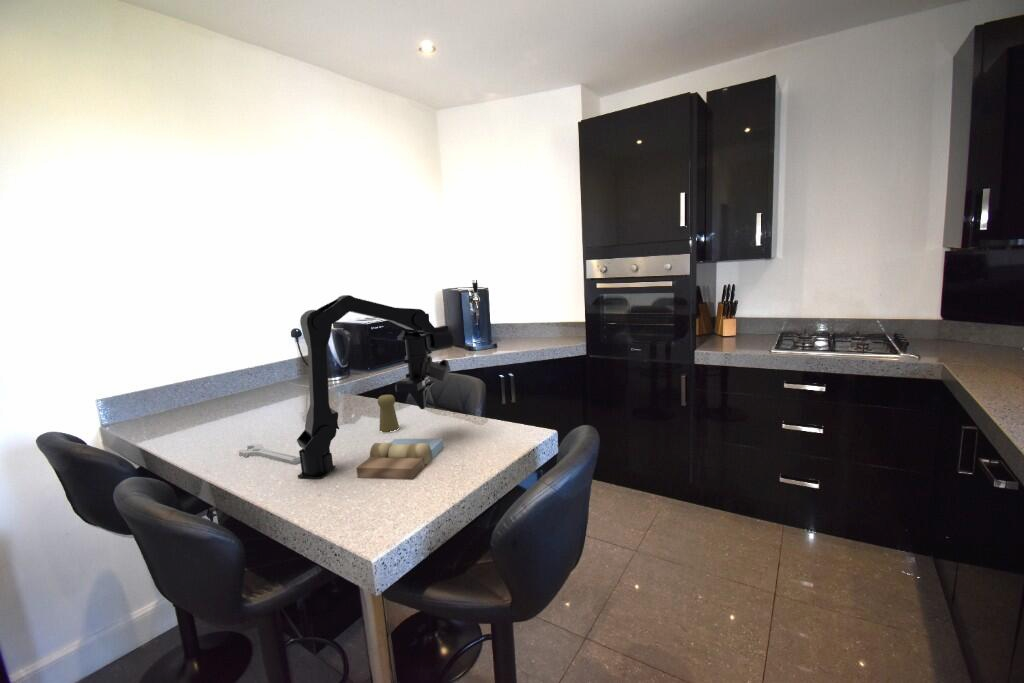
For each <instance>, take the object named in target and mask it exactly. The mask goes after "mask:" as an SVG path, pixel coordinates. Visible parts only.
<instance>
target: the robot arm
mask: <svg viewBox="0 0 1024 683" xmlns="http://www.w3.org/2000/svg"><path fill="white" fill-rule="evenodd" d="M349 313H354V314H359V315H363V316H367V317H372V318H375V319H379V320H380V319H381V320H385V321H388V322H390V323H393V324H395V325H396V326H399V327H401V328H404V329H406V330H401V333H399V335H398V336H397V337H396V339H397V340H398V341H399V340H400V341H405V342H404V343H405V352H406V358H404V361H403V362H404V364H406V365H407V371H408V373H406V374H405V377H404V378H401V379H400V380H398V381H397V382H396V383H395V384H394V388H395V392H396V393H409V394H410V395H411V397H412V398H413V400H414V401H415V403H416V405H417V406H418V408H419V409H420V410H424V409H426V406H427V405H426V404H427V399H428V394H429V390H430V388H431V386H433V385H434V383H435V381H431V379H429V378H433V379H436V380H437V381H439V382H440V381H441V382H442V381H445V380H447V379H448V377H449V373H450V372H451V370H452V369H451V366H450V363H449V360H446V359H441V360H440V362H439V361H436V362H435V361H433V360H432V359H433V357H432V356H431V355H429V354H428V353H429V352H428V349H429V351H431V352H437V351H438V352H439V351H443V350H450V349H452V348H453V346H454V337H453V334H452V332H451V331H450V330H449V325H439V326H434V325H433V323H432V322H430V320H429V319H428V315H427V314H426V311H424V310H423V309H421V308H408V307H407V308H405V307H394V306H390V305H386V304H381V303H379V302H373V301H371V300H366V299H362V298H360V297H359V298H358V297H355V296H353V295H351V294H350V295H349V294H344V295H339V296H338V297H337V298H336V299H334V300H332V301H330V302H328V303H326V304H325V305H324V304H323V305H322V306H321V307H319V308H318V309H310V310H307V311H305V312H304V313H303V314H302V315H301V317H300V319H299V322H300V323H299V324H300V328H301V332H302V336H303V339H304V342H305V344H306V347H307V359H308V360H307V362H308V364H307V365H308V385H309V408H308V410H307V414H306V419H305V423H304V424H305V425H304V430H303V431H302V432H301V434H299V436H298V437H297V439H296V443H297V444H298V446H299V447H300V448H301V449H300V450H299V451H298V454H299V457H300V462H301V463H300V468H301V473H299V474H298V475H297V478H298V479H322V478H324V477H325V476H327V475H328V474H330V473H331V472H333V471H334V470H335V469H337V465H334V463H333V454H332V452H331V449H330V447H331V443H332V440H333V439H334V438H335V437H336V436H337V431H338V430H339V429H340V426H339V424H338V421H339V420H338V419H339V412H338V411H336V410H335V409H333V408H332V407H331V406H330V396H329V395H330V393H329V371H328V370H329V369H328V368H329V367H328V345H329V342H330V339H331V335H332V328H333V325H334V324H335V323H337V322H339V321H340V320H341V319H342V318H343V317H345V316H346V315H347V314H349ZM407 330H412V331H411V332H410V331H409V332H408V331H407ZM414 330H415V331H414ZM420 332H422V333H423V334H422V333H420Z"/></svg>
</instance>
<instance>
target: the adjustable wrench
mask: <svg viewBox="0 0 1024 683" xmlns="http://www.w3.org/2000/svg"><path fill="white" fill-rule="evenodd" d="M246 448H247V449H239V450H238V453H239V456H240V457H241V456H243V457H245V458H248V456H251V457H260V456H261V457H260V458H264V457H265V458H264V459H268V458H270V459H269V460H272V459H273V461H276V460H277V462H281V463H286V464H288V465H289V464H290V465H296V466H297V465H299V464H300V465H301V462H300V456H298V455H293V454H289V453H282V452H279V451H274V450H270V449H266V448H264V446H263V444H260V443H257V444H256V443H254V444H249V445H247V446H246ZM248 449H250V450H248ZM243 457H242V458H243Z"/></svg>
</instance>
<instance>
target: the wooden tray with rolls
mask: <svg viewBox="0 0 1024 683" xmlns="http://www.w3.org/2000/svg"><path fill="white" fill-rule="evenodd" d="M391 445H392V443H390V442H374V443H373V444H372V445H371V448H370V450H369V457H368V458H367V459H366V460H364V461H363V462H361V464H359V465H357V466H356V476H357V478H359V479H360V477H361V479H387V478H390V480H391V479H394V480H395V479H396V480H414V478H416V477H417V475H418V474H419V473H420V472H421V471H422V470H423V469H425V465H427V464H429V463H430V460H431V459H430V456H431V449H430V445H429V444H427V443H411V444H410V445H409V447H408V450H407V458H388V453H389V449H390V446H391Z"/></svg>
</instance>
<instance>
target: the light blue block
mask: <svg viewBox="0 0 1024 683" xmlns="http://www.w3.org/2000/svg"><path fill="white" fill-rule="evenodd" d="M389 443H392V445H391V446H390V449H389V453H388V458H407V450H408V447H409V445H410V444H411V443H427V444H429V445H430V449H431V456H430V460H434V459H435V457H437V455H438V454H439V453H440V452H441V451H442V450H443V449H444V448H445V446H444V438H394V439H393V440H391V441H390V442H389Z"/></svg>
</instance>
